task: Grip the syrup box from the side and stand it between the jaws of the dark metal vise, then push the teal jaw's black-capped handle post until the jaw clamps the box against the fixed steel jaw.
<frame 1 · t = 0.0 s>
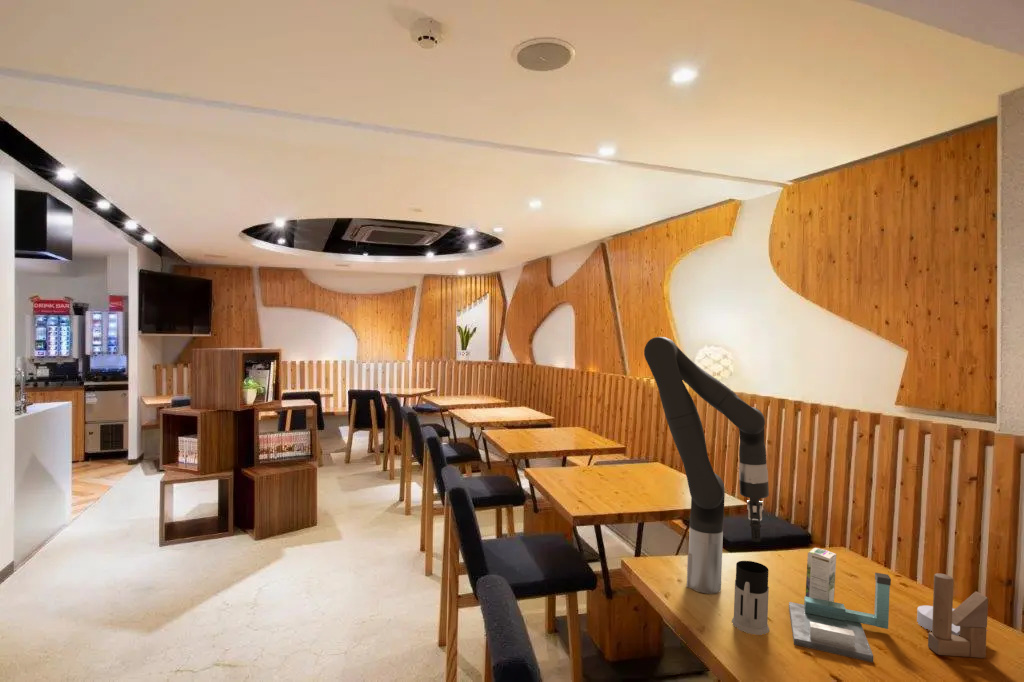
hand: (756, 536, 153), 17 cm above the table, tool pointing down, fingers open, 8 cm apart
wooden block: (956, 653, 128), on the table
vise: (828, 636, 134), on the table
wedge on round base: (946, 632, 138), on the table
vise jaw: (845, 593, 139), point 8 cm above the table, slide at 5.0 cm
syrup box: (819, 605, 150), on the table
glass holder: (748, 631, 135), on the table
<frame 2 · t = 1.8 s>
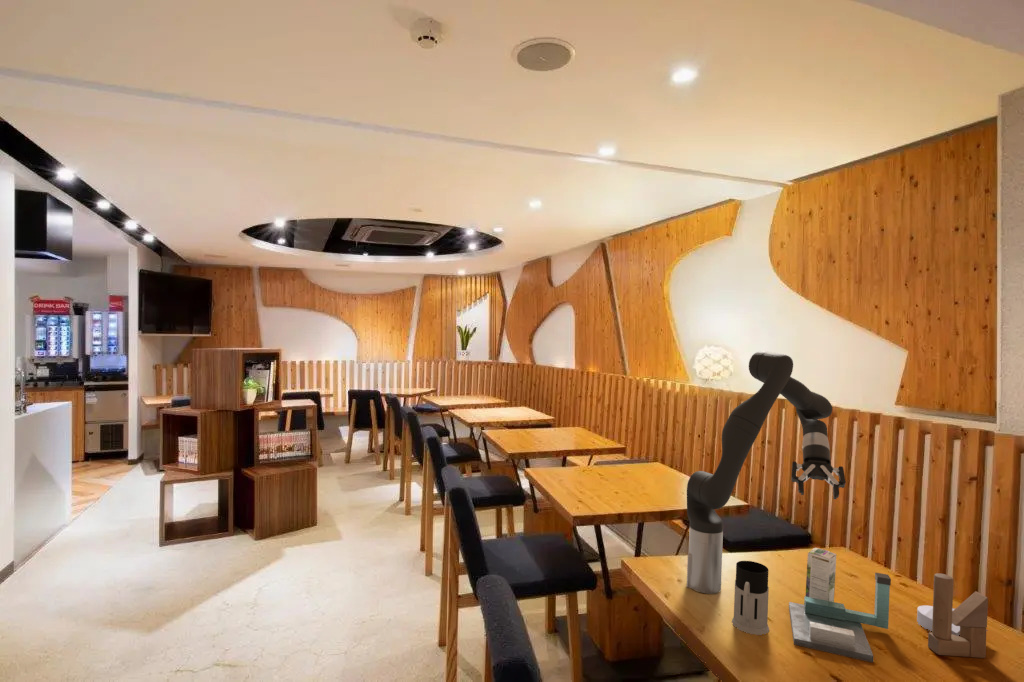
hand: (818, 495, 161), 27 cm above the table, tool tilted 45°, fingers open, 8 cm apart
nothing on the table moved.
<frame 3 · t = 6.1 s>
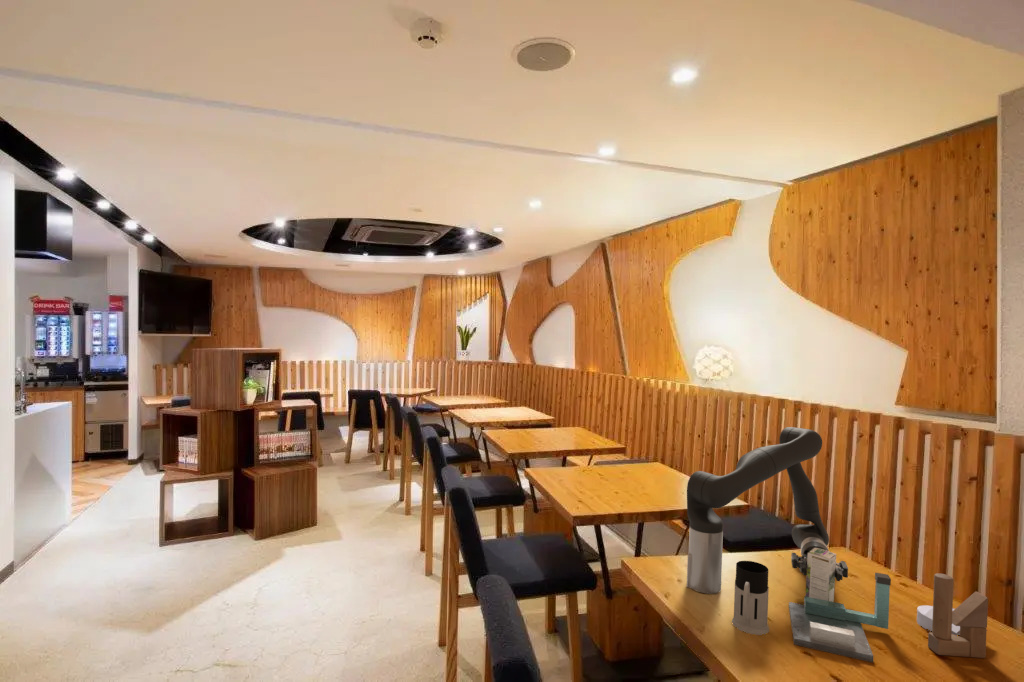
hand: (821, 574, 148), 9 cm above the table, tool horizontal, fingers closed on syrup box, 7 cm apart
syrup box: (819, 605, 150), on the table, touching gripper
everything else where it was.
when the fingers open (12 cm above the table, at t = 12.4 s): syrup box drops 1 cm, resting on vise.
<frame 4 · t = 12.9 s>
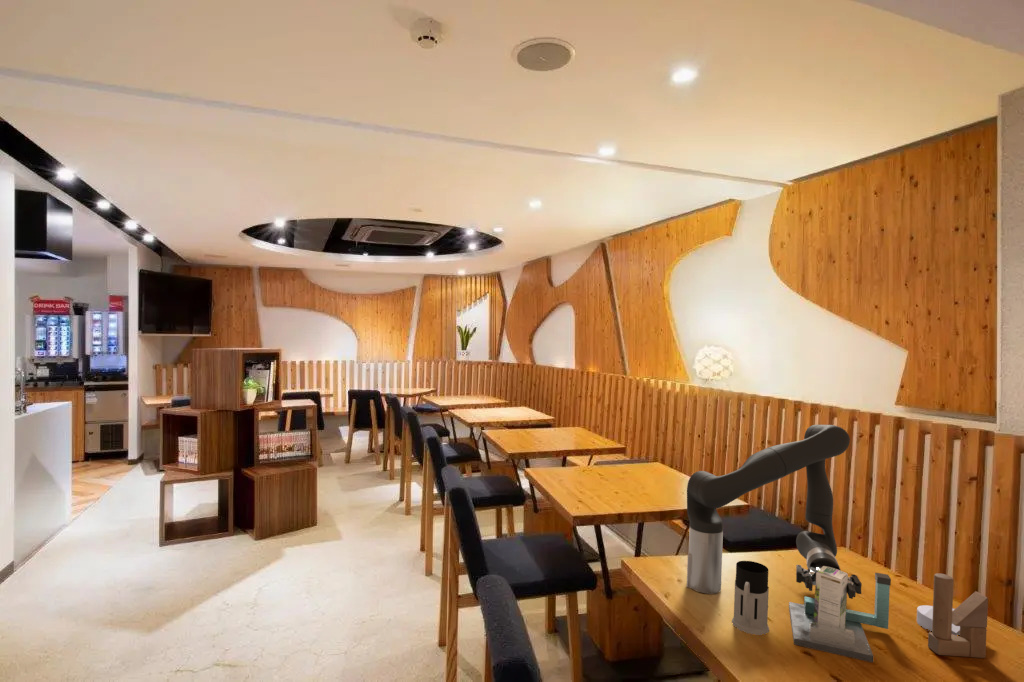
hand: (830, 590, 132), 12 cm above the table, tool horizontal, fingers open, 8 cm apart
syrup box: (829, 630, 134), point 1 cm above the table, touching gripper, vise
everything else where it was.
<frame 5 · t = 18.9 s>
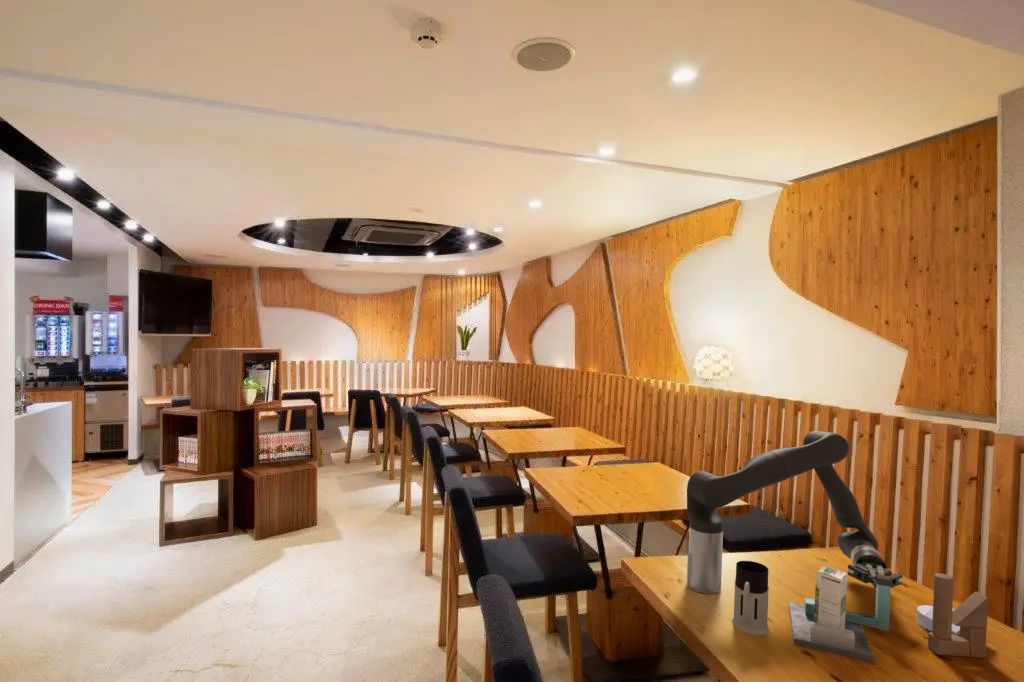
hand: (881, 587, 137), 11 cm above the table, tool horizontal, fingers closed
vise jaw: (846, 595, 139), point 8 cm above the table, slide at 4.1 cm, touching gripper
syrup box: (829, 630, 134), point 1 cm above the table, touching vise
everything else where it was.
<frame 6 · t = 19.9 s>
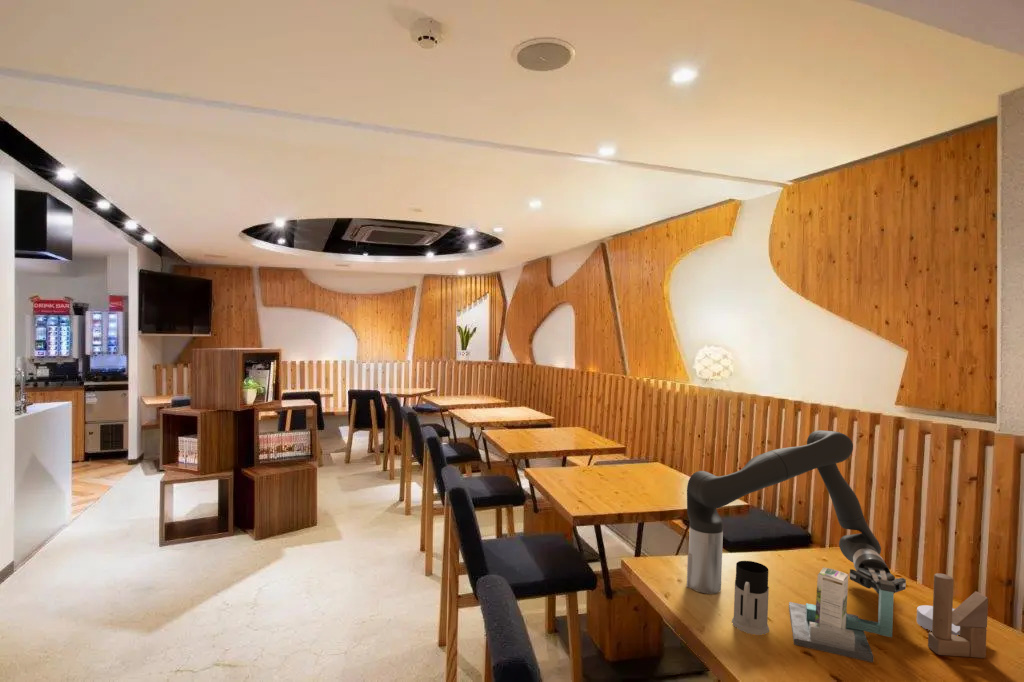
hand: (884, 593, 134), 11 cm above the table, tool horizontal, fingers closed
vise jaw: (848, 600, 136), point 8 cm above the table, slide at 0.8 cm, touching gripper, syrup box
syrup box: (830, 632, 133), point 1 cm above the table, touching vise, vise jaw
everything else where it was.
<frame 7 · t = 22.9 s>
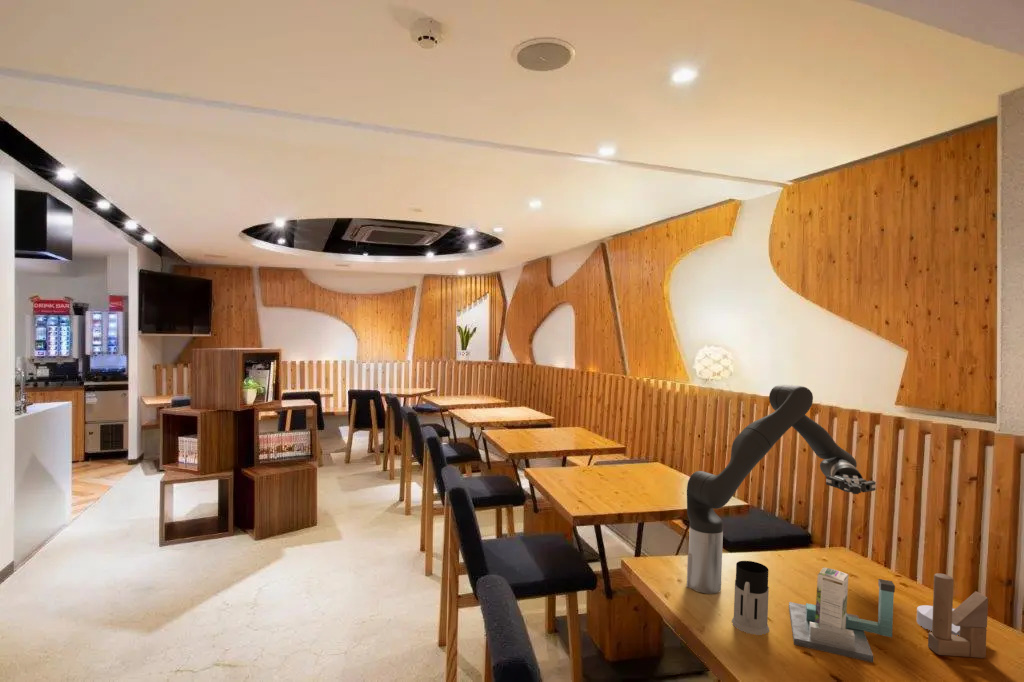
hand: (855, 490, 149), 32 cm above the table, tool horizontal, fingers closed
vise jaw: (848, 600, 136), point 8 cm above the table, slide at 0.8 cm, touching syrup box
everything else where it was.
at the end: syrup box 0.5 cm off-centre on the vise, point 1.3 cm above the vise's base; syrup box tilted 0°; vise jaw slide at 0.8 cm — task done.
